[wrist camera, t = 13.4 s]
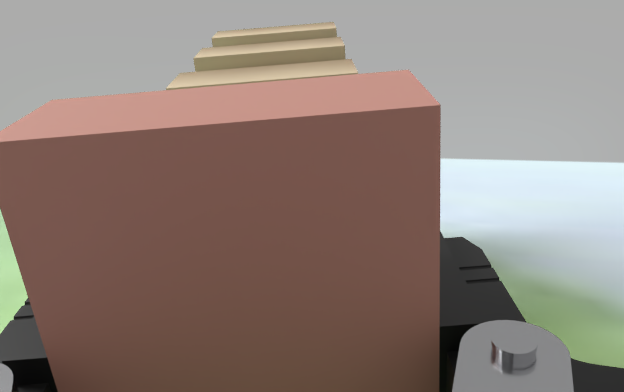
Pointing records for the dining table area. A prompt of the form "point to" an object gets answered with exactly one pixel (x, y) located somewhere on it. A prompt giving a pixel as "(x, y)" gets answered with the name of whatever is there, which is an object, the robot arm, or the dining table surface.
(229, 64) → the domino
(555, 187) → the dining table surface
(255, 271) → the domino
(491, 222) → the dining table surface
